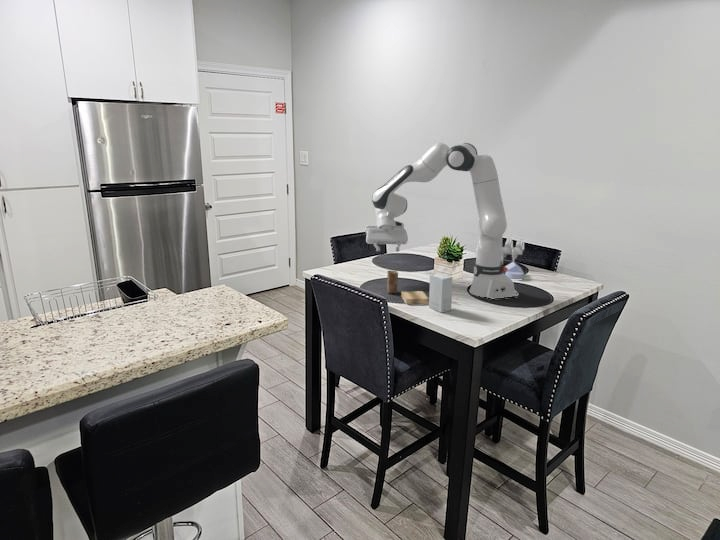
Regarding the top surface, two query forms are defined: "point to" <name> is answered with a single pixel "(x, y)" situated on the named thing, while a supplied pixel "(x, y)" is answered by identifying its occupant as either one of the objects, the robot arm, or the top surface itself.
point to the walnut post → (392, 281)
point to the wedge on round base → (514, 271)
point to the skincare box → (440, 292)
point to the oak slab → (414, 297)
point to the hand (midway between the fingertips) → (388, 250)
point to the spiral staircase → (511, 249)
